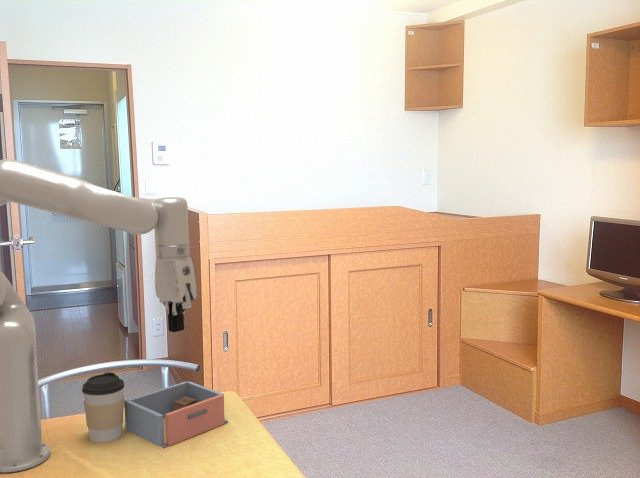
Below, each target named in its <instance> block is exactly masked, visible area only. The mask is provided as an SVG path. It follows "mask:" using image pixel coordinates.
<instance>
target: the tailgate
mask: <svg viewBox="0 0 640 478" xmlns="http://www.w3.org/2000/svg"><path fill="white" fill-rule="evenodd" d="M164 419H165V424H164V425H165V444H166V445H167V447H170V446H173V445H175V444H177V443H180V442H183V441H185V440H188V439H190V438H193V437H195V436H199V435H200V434H203V433H205V432H208V431H211V430H213V429H215V428H218V427H221V426H223V425H225V424H224V420H225V394H224V395H218V396H215V397H212V398H209V399H206V400H204V401H201V402H198V403H195V404H192V405H189V406H187V407H184V408H181V409H178V410H175V411H173V412H170V413H167V414H165V417H164Z"/></svg>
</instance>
